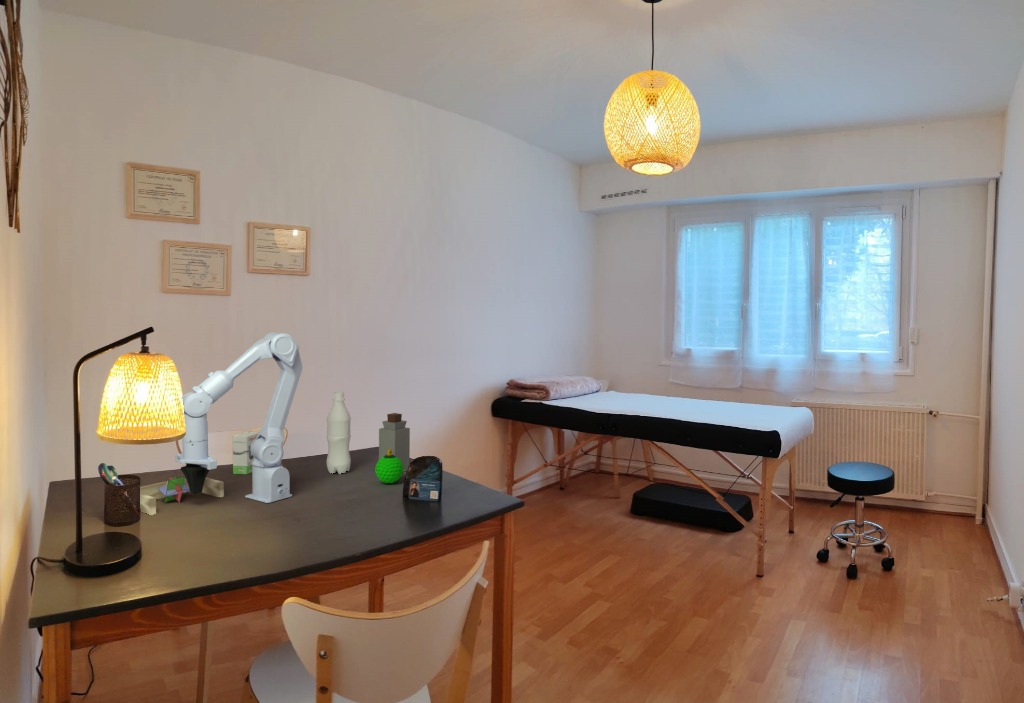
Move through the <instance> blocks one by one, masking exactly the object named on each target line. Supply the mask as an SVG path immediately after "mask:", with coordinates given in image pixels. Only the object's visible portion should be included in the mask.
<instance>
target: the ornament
mask: <svg viewBox="0 0 1024 703" xmlns="http://www.w3.org/2000/svg"><path fill="white" fill-rule="evenodd" d="M374 469H375V474H376V475H375V476H376V477H377V478H378V480H379V481H381V482H382V483H384V484H388V483H390V484H394V483H396V482H398V480H400V478H401V477H402V476H403V473H404V472H403V464H402V462H401V460H400V459H398V458H397V457H395V456H394V455H392V449H387V455H385V456H384V457H382V458H381V459H380V460H379V459H378V460H377V463H376V464H375V468H374ZM394 481H395V482H394Z"/></svg>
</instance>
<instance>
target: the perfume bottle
mask: <svg viewBox="0 0 1024 703" xmlns="http://www.w3.org/2000/svg"><path fill="white" fill-rule="evenodd" d="M386 416H387V420H383V421H382V426H383V427H380V428H379V429H378V461H379V460H380V459H381V458H382V457H384V456H385V455H387V449H392V455H394V456H395V457H397V458H398V459H400V460H401V462H402V464H403V469H405V470H406V469H407V467H408V466H409V467H410V451H411V450H410V445H411V444H410V442H411V441H410V438H411V436H410V435H411V432H410V430H411V428H410V427H406V426H407V422H408V421H407V420H402V416H403V414H402V413H397V412H393V413H387V414H386Z"/></svg>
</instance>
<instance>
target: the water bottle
mask: <svg viewBox="0 0 1024 703" xmlns="http://www.w3.org/2000/svg"><path fill="white" fill-rule="evenodd" d="M332 401H333V402H332V406H331V408H330V410H329V412H328V413H327V416H326V434H327V435H326V440H327V447H328V448H327V449H328V450H327V456H326V457H327V458H326V467H327V470H328V472H329V473H330V474H331V473H332V474H331V475H334V474H333V473H338V475H342V474H341V473H344V474H345V473H347V472H346V471H348V472H349V471H350V468H351V454H350V441H351V420H352V419H351V414H350V412H349V410H348V408H347V407H346V404H345V393H344V392H343V391H334V392H333V399H332Z"/></svg>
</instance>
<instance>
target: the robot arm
mask: <svg viewBox="0 0 1024 703" xmlns="http://www.w3.org/2000/svg"><path fill="white" fill-rule="evenodd" d="M299 349H300V346H299V343H297V341H296V340H295V338H293V336H292V335H291V334H288V333H284V332H282V333H279V332H276V331H275V332H274V331H273V332H269V333H267V334H266V335H264V336H263V338H260V339H259V340H257V341H256V342H255V343H253V345H251V346H250V347H249V348H248V349H247V350H246V351H244V352H243V353H242V354H241V355H240V356H239V357H238V358H237V359H235V361H233V362H232V363H231V364H230V365H229V366H228V367H226V369H224V370H220V369H219V370H215V371H214V372H212V371H210V372H209V373H208V374H207V378H205V380H203V381H202V382H201V383H200V384H198V386H196V385H194V386H192V388H191V389H192V391H190V392H189V391H188V392H187V393H185V394H184V395H183V396H182V397H181V399H183V405H184V415H185V424H186V435H185V436H184V437H183V438H182V439H181V440H182V452H181V453H177V454H176V453H175V462H176V463H179V464H183V466H181V467H180V471H181V472H182V474H183V476H185V477H186V480H187V482H188V485H189V489H190V492H189V493H190V494H191V495H193V496H194V495H195V496H196V495H199V494H203V493H202V489H203V485H204V482H205V479H206V477H207V476H208V474H209V472H210V470H214V469H217V468H218V465H217V464H218V462H217V460H216V459H213V458H212V457H211V456H210V455H209V433H208V431H209V430H208V429H209V428H208V426H209V425H208V423H209V422H208V414H207V413H208V412H209V411H210V408H211V404H212V405H213V404H215V403H216V402H218V400H219V399H221V398H222V397H223V396H224V395H225V394H226V393H227V392H228V391H230V390H231V389H232V388H233V387H234V382H235V379H237V378H239V377H240V376H241V375H242V374H243V373H245V372H246V371H247V370H249V369H250V368H251V367H252V366H253V365H255V364H256V363H258V361H260V360H261V361H262V360H269V359H273V360H274V361H275V362H276V364H277V366H278V367H279V369H280V372H279V376H278V378H277V382H276V385H275V388H274V392H273V395H272V398H271V400H270V405H269V408H268V411H267V414H266V417H265V420H264V424H263V426H262V427H261V429H260V430H259V431H258V432H259V433H258V436H257V438H256V439H255V440H254V441H253V442H252V444H251V447H250V451H251V454H252V455H253V456H254V457H255V459H254V461H253V463H252V472H251V473H252V475H251V476H252V481H251V482H252V485H251V486H252V488H251V489H252V493H250V494H246V495H244V496H245V498H246V499H250V500H254V501H258V502H261V503H265V504H270V503H273V502H277V501H280V500H284V499H286V498H291V497H292V496H293V494H292V493H290V487H291V486H290V477H291V476H290V472H289V470H288V469H287V468H286V467H284V466H283V464H282V459H283V457H284V453H285V452H284V442H285V436H284V429H285V427H286V423H287V419H288V416H289V413H290V410H291V407H292V403H293V402H294V401H293V400H294V397H295V393H296V390H297V388H298V384H299V380H300V377H301V375H302V371H303V362H302V358H301V355H300V351H299ZM228 393H229V392H228ZM184 464H185V465H184Z"/></svg>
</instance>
